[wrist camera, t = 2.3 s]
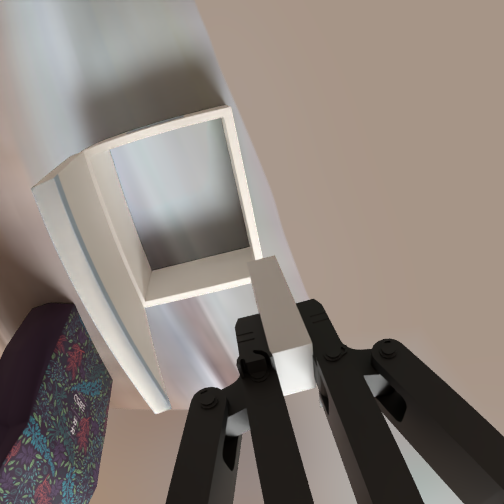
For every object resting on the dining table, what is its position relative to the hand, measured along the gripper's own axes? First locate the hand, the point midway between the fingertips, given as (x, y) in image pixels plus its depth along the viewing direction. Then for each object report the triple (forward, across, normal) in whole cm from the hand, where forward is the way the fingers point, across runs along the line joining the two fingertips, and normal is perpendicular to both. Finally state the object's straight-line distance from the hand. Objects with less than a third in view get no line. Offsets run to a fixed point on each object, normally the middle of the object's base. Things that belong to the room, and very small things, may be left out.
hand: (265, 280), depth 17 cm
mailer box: (+18, -6, 0) cm, 19 cm away
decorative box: (+18, -28, -16) cm, 37 cm away
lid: (+5, -10, 0) cm, 11 cm away
